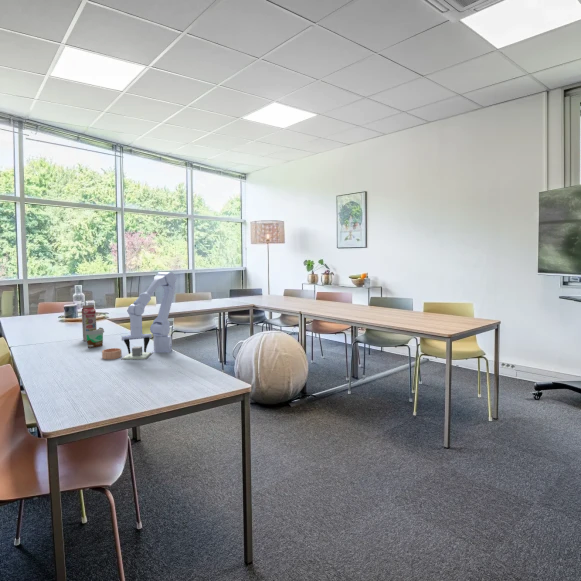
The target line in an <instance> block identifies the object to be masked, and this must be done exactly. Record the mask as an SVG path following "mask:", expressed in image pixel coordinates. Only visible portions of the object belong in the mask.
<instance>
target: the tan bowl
mask: <svg viewBox="0 0 581 581" xmlns="http://www.w3.org/2000/svg"><path fill="white" fill-rule="evenodd" d="M122 356H123V355H122V349H121V348H118V347H114V348H112V347H111V348H105V349H103V350H102V351H101V357H102V359H103V360H115V359H119V358H121V357H122Z"/></svg>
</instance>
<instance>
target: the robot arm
mask: <svg viewBox="0 0 581 581" xmlns="http://www.w3.org/2000/svg"><path fill="white" fill-rule="evenodd" d="M176 282H177V277H176V275H175V274H174V273H173V272H166V271H159V272H156V274H155V275H154V276H153V280H152V281H151V283H150V284H149V286H148V287H147V289H146V290H145V292H141V293H139V294H138V297H137V299H135V300H134V301H133V303H132V304H130V305H128V308H127V310H126V312H127V313H128V315H129V317H128V318H129V320H130V321H129V323H130V324H129V325H130V334H129V335H123V336H121V341H122V342H124V344H125V345H126V348H127V354H130V352H131V342H130V340H143V352H147V348H148V344H149V342H150V339H152V336H153V350H152V351H151V353H153V354H155V353H170V352H171V351H172V350H173V339H172V335H169V333H170V331H171V328H170V326H171V322H170V321H169V315H170V311H171V307H172V303H173V300H174V297H175V296H174V295H175V292H176ZM159 287H162V288H163V290H164V291H163V295H162V299H161V302H160V306H159V310H158V315H157V317H155V319H153V322H152V324H151V325H150V328H149V330H150V333H143V316H142V315H143V314H144V312H145V308H146V306H147V305H148V304H149V302H150V301H151V300H152V296H153V294H154V293H155V291H157V290H158V288H159Z"/></svg>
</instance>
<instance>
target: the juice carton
mask: <svg viewBox="0 0 581 581" xmlns="http://www.w3.org/2000/svg"><path fill="white" fill-rule="evenodd" d="M81 307H82V308H81V323H82V324H81V326H82V340H83V341H84V342H87V335H86V331H92V330H97V313H96V311H97V310H96V309H95V304H87V305H86V304H85V305H82V306H81Z"/></svg>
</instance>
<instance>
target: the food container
mask: <svg viewBox="0 0 581 581" xmlns="http://www.w3.org/2000/svg"><path fill="white" fill-rule="evenodd" d="M104 333H105V330H104V328H103V327H98V329H97V328H96V330H92V331H86V335H87V341H86V342H87V348H88V349H92V348H93V349H94V348H101V347H102V346H103V345H104Z"/></svg>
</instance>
